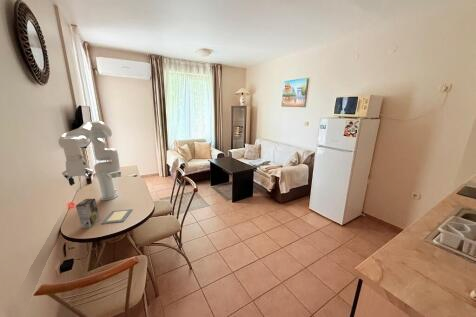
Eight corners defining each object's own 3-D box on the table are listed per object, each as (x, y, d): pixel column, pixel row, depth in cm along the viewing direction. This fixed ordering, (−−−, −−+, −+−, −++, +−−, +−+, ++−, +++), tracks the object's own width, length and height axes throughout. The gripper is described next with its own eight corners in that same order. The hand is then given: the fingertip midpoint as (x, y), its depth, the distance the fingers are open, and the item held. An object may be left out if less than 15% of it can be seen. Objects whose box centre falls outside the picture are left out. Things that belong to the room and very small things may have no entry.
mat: (112, 211, 141) (112, 210, 141) (132, 209, 143) (132, 208, 143) (101, 224, 126) (100, 223, 126) (123, 221, 128) (123, 220, 127)
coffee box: (90, 220, 131) (85, 198, 127) (100, 219, 131) (95, 198, 127) (81, 228, 122) (75, 205, 118) (91, 227, 123) (85, 204, 118)
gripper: (93, 155, 120) (99, 180, 124) (63, 157, 118) (70, 183, 122) (86, 158, 113) (92, 185, 117) (53, 160, 110) (61, 187, 115)
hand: (81, 184), depth 119 cm, fingers open, 9 cm apart
